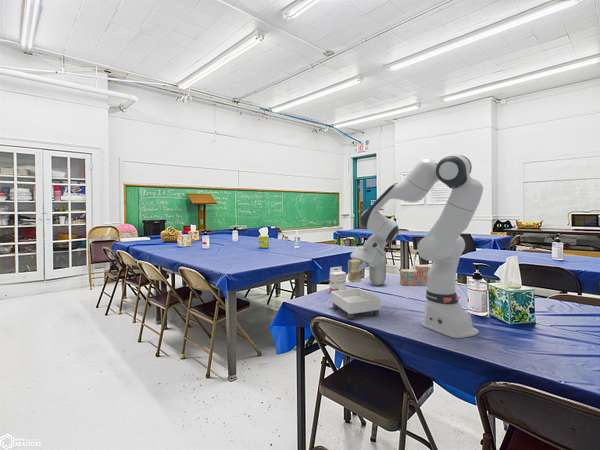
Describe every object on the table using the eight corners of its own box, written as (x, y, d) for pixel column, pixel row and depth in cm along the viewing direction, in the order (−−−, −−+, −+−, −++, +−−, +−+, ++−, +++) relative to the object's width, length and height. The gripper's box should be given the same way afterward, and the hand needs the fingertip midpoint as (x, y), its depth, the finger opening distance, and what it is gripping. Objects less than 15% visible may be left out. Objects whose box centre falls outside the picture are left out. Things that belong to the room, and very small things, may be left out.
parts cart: (380, 316, 152) (380, 298, 151) (349, 321, 147) (349, 303, 146) (359, 303, 171) (359, 288, 170) (331, 307, 165) (330, 291, 165)
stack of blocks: (402, 286, 203) (402, 266, 202) (400, 283, 209) (400, 264, 208) (437, 286, 201) (438, 266, 200) (434, 283, 207) (435, 264, 206)
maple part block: (360, 281, 156) (360, 260, 155) (352, 282, 155) (352, 261, 154) (356, 279, 160) (356, 259, 159) (348, 280, 159) (348, 259, 158)
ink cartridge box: (333, 294, 188) (333, 269, 187) (329, 292, 192) (329, 267, 191) (346, 292, 192) (346, 267, 190) (341, 290, 196) (341, 265, 195)
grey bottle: (370, 282, 213) (370, 239, 211) (387, 283, 209) (387, 240, 207) (367, 286, 204) (367, 241, 202) (384, 287, 200) (384, 242, 198)
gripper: (358, 240, 168) (341, 260, 166) (380, 245, 149) (361, 268, 147) (365, 248, 170) (349, 268, 168) (389, 254, 151) (370, 277, 149)
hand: (355, 268), depth 157 cm, fingers closed on maple part block, 4 cm apart
